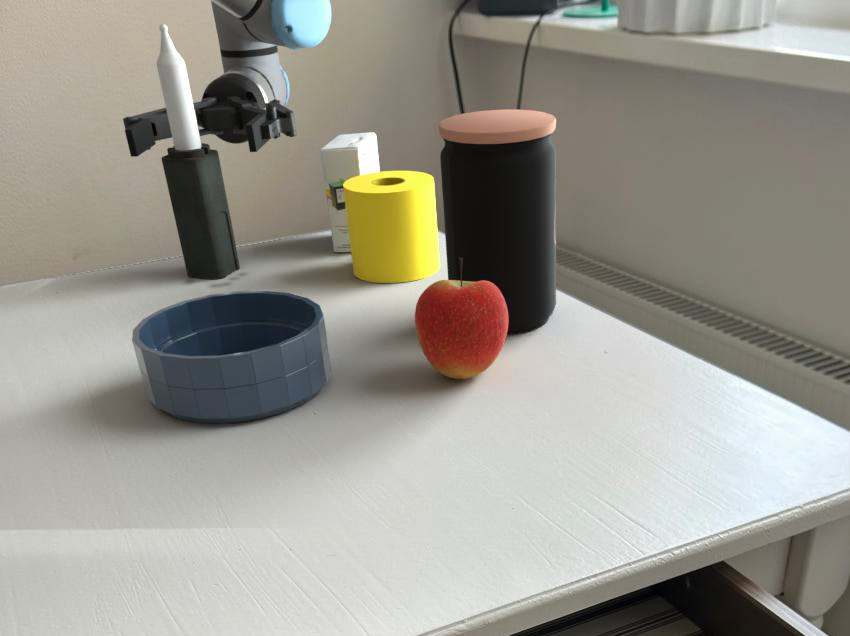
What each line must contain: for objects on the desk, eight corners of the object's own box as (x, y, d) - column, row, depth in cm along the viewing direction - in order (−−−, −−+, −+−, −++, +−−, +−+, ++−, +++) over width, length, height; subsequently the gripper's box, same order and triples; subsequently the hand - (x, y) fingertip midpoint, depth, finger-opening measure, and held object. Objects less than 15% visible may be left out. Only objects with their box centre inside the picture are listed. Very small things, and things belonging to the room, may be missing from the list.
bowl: (124, 429, 82) (104, 360, 79) (181, 355, 95) (166, 293, 91) (313, 425, 81) (301, 356, 77) (345, 351, 94) (336, 288, 90)
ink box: (349, 233, 126) (337, 131, 119) (387, 232, 125) (377, 131, 118) (332, 253, 119) (318, 147, 112) (371, 253, 119) (359, 146, 112)
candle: (220, 280, 113) (168, 26, 98) (183, 276, 115) (126, 27, 99) (244, 266, 117) (197, 20, 101) (207, 263, 118) (156, 20, 103)
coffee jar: (577, 319, 98) (580, 119, 87) (490, 346, 93) (481, 138, 82) (515, 293, 105) (510, 104, 94) (430, 316, 100) (415, 121, 89)
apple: (406, 388, 86) (395, 273, 80) (437, 353, 92) (429, 244, 86) (493, 396, 84) (488, 278, 78) (519, 360, 90) (517, 248, 84)
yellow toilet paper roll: (445, 255, 117) (440, 169, 111) (432, 282, 109) (426, 192, 103) (363, 256, 118) (354, 171, 112) (345, 283, 110) (333, 193, 104)
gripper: (338, 134, 126) (306, 173, 110) (150, 141, 128) (91, 181, 111) (330, 67, 122) (296, 98, 105) (135, 76, 124) (71, 107, 107)
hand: (190, 141), depth 108 cm, fingers open, 13 cm apart
